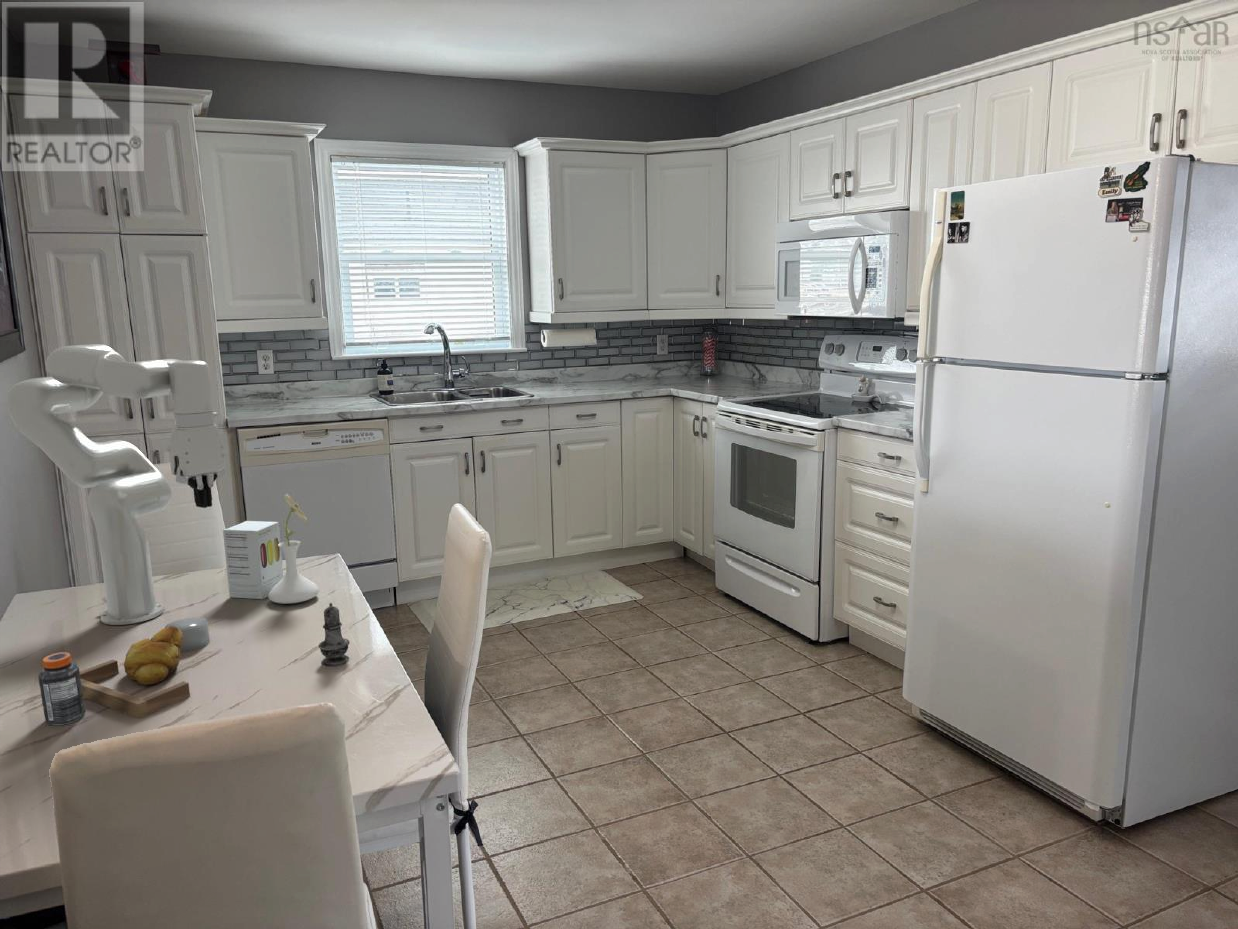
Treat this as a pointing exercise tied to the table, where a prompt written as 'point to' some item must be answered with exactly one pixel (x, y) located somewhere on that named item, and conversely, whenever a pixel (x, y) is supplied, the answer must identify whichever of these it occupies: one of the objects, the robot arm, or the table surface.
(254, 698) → the table surface
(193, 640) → the grey glossy rounded piece
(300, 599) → the flower in vase
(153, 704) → the brown angled bar
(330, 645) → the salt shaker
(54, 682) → the pill bottle
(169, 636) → the bread roll
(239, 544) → the supplement box
